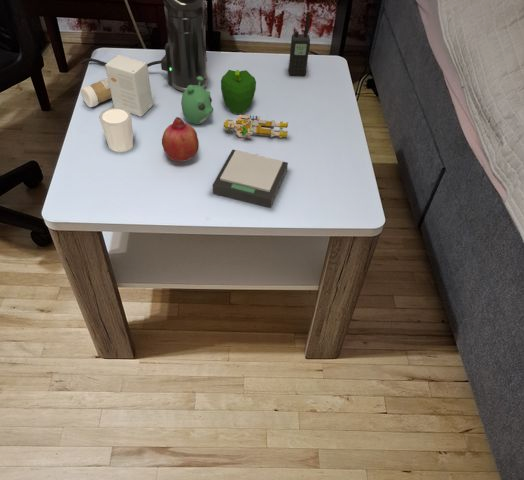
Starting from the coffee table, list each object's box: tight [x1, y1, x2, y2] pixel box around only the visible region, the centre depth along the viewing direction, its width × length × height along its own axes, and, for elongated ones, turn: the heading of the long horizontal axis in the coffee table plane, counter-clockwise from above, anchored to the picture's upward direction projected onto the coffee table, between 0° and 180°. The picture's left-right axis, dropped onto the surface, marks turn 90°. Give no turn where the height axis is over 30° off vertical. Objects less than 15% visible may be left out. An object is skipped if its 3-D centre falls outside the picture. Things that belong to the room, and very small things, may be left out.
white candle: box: [98, 106, 134, 153], centre depth 112 cm, size 7×7×7 cm
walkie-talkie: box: [287, 11, 311, 77], centre depth 130 cm, size 5×3×15 cm
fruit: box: [161, 116, 200, 162], centre depth 109 cm, size 8×8×10 cm
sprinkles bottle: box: [80, 77, 112, 108], centre depth 123 cm, size 5×5×14 cm
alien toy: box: [180, 76, 214, 125], centre depth 118 cm, size 7×8×10 cm
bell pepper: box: [220, 69, 257, 115], centre depth 122 cm, size 8×8×10 cm
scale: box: [212, 149, 289, 209], centre depth 109 cm, size 13×13×3 cm
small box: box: [104, 54, 154, 118], centre depth 119 cm, size 8×6×10 cm
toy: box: [223, 114, 289, 139], centre depth 118 cm, size 5×5×15 cm
